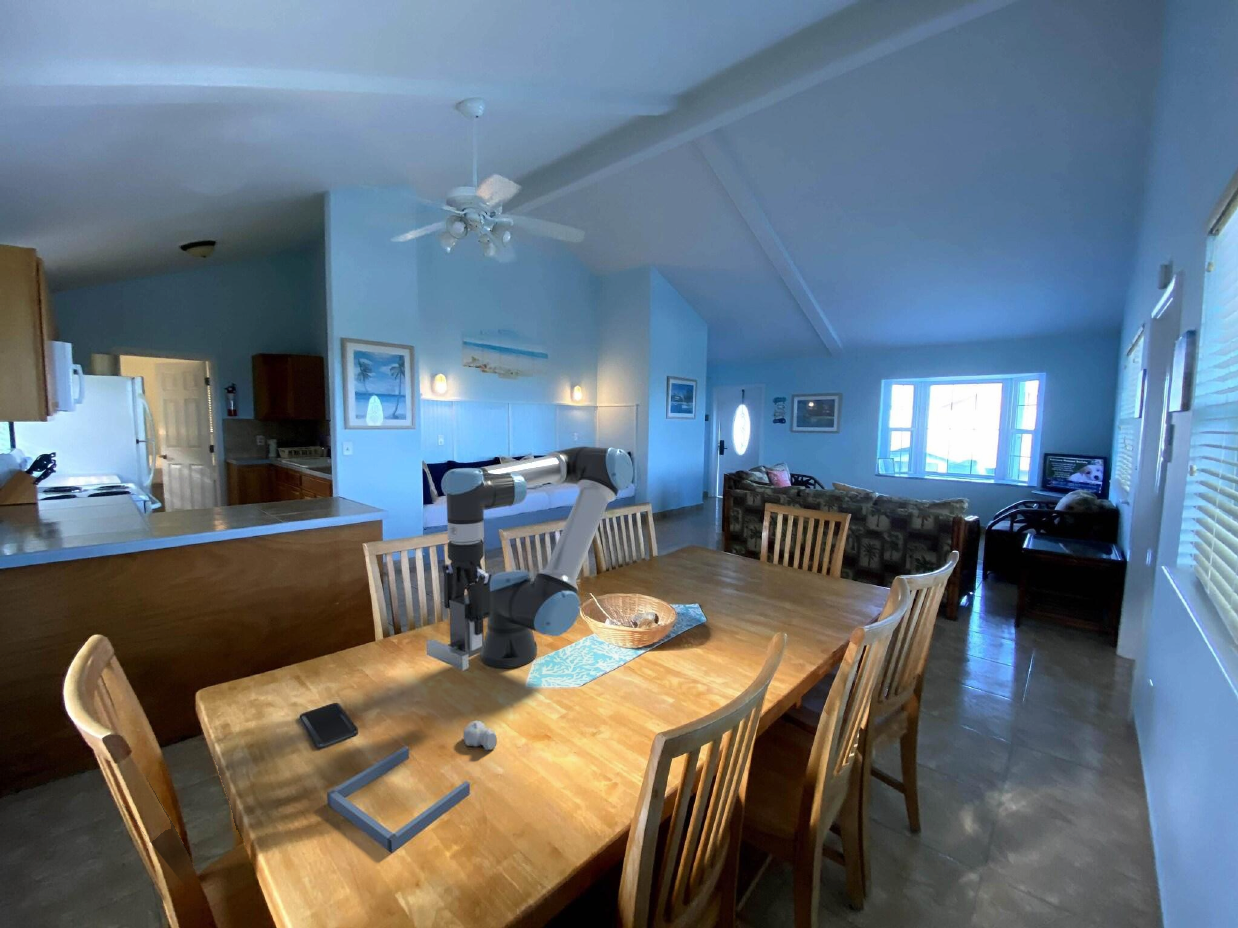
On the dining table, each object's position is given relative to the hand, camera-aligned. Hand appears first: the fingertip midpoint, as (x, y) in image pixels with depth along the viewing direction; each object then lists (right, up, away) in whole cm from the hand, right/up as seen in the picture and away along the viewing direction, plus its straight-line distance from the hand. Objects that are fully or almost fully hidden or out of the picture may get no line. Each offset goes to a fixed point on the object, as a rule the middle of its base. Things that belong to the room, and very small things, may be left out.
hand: (467, 644), depth 115 cm
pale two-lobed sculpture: (+5, -17, -10) cm, 20 cm away
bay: (-4, -18, -25) cm, 31 cm away
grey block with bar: (-1, -2, -1) cm, 3 cm away
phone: (-28, -16, -5) cm, 33 cm away
